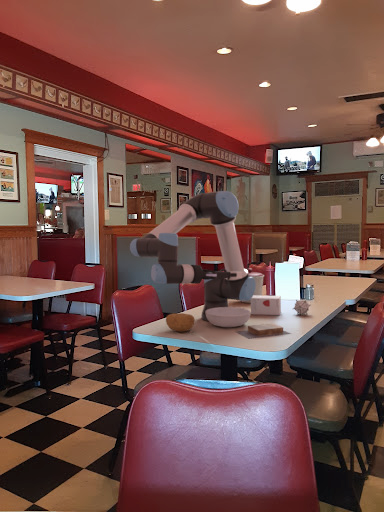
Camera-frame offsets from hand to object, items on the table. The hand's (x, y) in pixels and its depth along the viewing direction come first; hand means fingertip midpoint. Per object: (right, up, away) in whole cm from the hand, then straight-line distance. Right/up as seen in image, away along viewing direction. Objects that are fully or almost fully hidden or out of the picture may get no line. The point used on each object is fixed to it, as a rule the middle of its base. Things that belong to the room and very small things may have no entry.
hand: (241, 275), depth 170 cm
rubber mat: (+9, -25, +3) cm, 27 cm away
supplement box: (+11, -18, +48) cm, 52 cm away
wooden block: (+5, -24, +2) cm, 24 cm away
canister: (+16, -21, +83) cm, 87 cm away
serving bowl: (-4, -25, +19) cm, 32 cm away
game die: (+36, -23, +41) cm, 59 cm away
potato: (-26, -26, +11) cm, 38 cm away
